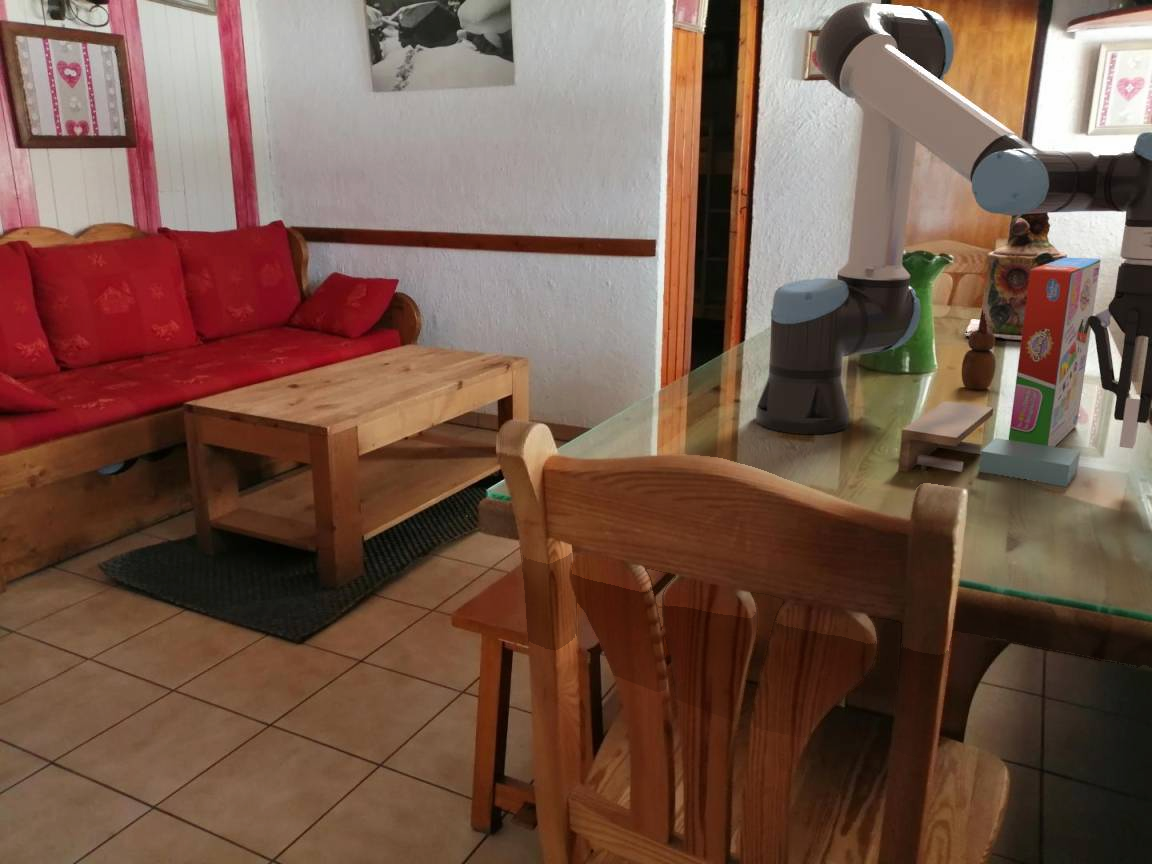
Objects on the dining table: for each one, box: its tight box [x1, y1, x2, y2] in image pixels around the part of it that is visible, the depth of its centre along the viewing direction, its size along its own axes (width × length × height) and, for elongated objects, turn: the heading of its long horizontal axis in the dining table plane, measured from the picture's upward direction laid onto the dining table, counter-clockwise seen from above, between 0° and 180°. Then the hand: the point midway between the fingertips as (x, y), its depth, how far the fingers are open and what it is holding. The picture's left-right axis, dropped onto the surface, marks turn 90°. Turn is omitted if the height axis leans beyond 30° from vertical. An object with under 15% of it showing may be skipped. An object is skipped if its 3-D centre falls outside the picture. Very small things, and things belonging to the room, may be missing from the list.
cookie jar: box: [964, 213, 1068, 341], centre depth 228 cm, size 25×25×32 cm
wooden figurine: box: [961, 309, 997, 391], centre depth 173 cm, size 7×6×15 cm
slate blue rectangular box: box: [978, 437, 1081, 488], centre depth 126 cm, size 11×8×3 cm
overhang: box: [898, 400, 994, 473], centre depth 132 cm, size 7×20×6 cm, turn 143°
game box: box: [1008, 257, 1102, 447], centre depth 138 cm, size 21×6×27 cm, turn 141°
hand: (1127, 445), depth 118 cm, fingers closed
